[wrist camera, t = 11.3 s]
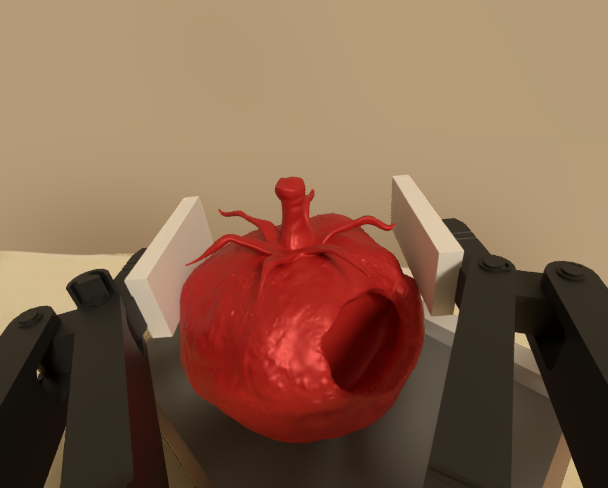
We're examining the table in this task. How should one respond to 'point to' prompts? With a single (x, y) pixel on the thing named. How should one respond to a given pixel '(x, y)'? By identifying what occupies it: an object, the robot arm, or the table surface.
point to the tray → (357, 445)
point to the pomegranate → (300, 324)
